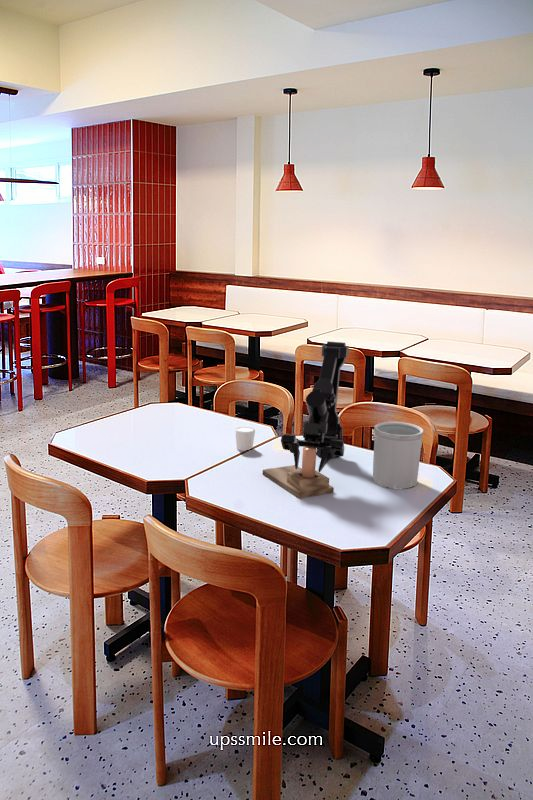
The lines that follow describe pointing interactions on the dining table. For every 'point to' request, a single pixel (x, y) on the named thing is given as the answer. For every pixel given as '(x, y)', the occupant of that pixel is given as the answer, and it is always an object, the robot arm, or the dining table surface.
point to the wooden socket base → (299, 481)
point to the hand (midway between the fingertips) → (307, 470)
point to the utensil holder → (396, 454)
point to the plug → (308, 462)
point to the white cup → (244, 438)
